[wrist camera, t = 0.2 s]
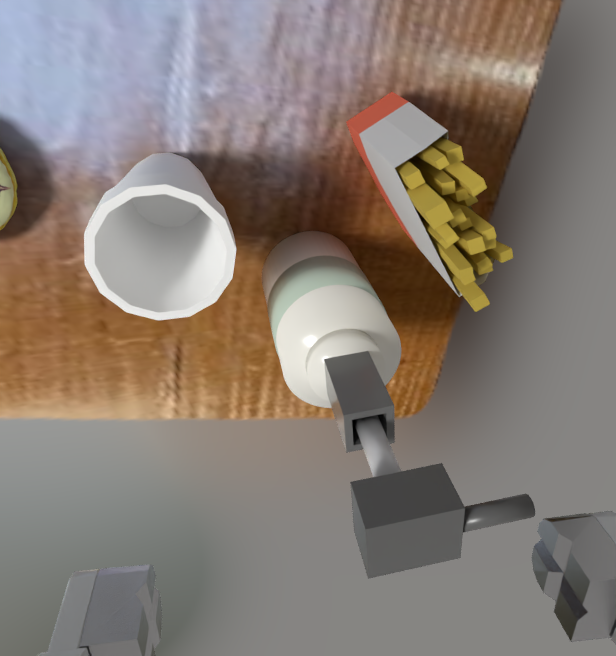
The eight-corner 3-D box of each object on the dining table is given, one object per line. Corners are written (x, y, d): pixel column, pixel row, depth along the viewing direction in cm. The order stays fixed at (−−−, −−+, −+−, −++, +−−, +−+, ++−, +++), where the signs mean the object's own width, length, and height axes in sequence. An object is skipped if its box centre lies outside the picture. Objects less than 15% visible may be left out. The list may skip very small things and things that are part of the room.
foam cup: (218, 128, 45) (228, 178, 34) (231, 236, 50) (243, 310, 39) (95, 138, 43) (64, 193, 33) (121, 247, 48) (102, 327, 38)
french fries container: (387, 83, 45) (485, 138, 30) (437, 192, 51) (541, 284, 36) (338, 115, 46) (410, 185, 31) (393, 219, 52) (477, 320, 37)
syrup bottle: (253, 238, 50) (289, 386, 32) (353, 222, 51) (442, 357, 33) (267, 324, 55) (304, 493, 37) (358, 308, 56) (437, 466, 38)
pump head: (326, 405, 34) (365, 529, 27) (465, 379, 35) (542, 491, 28) (330, 452, 37) (368, 578, 29) (461, 425, 37) (532, 542, 30)
